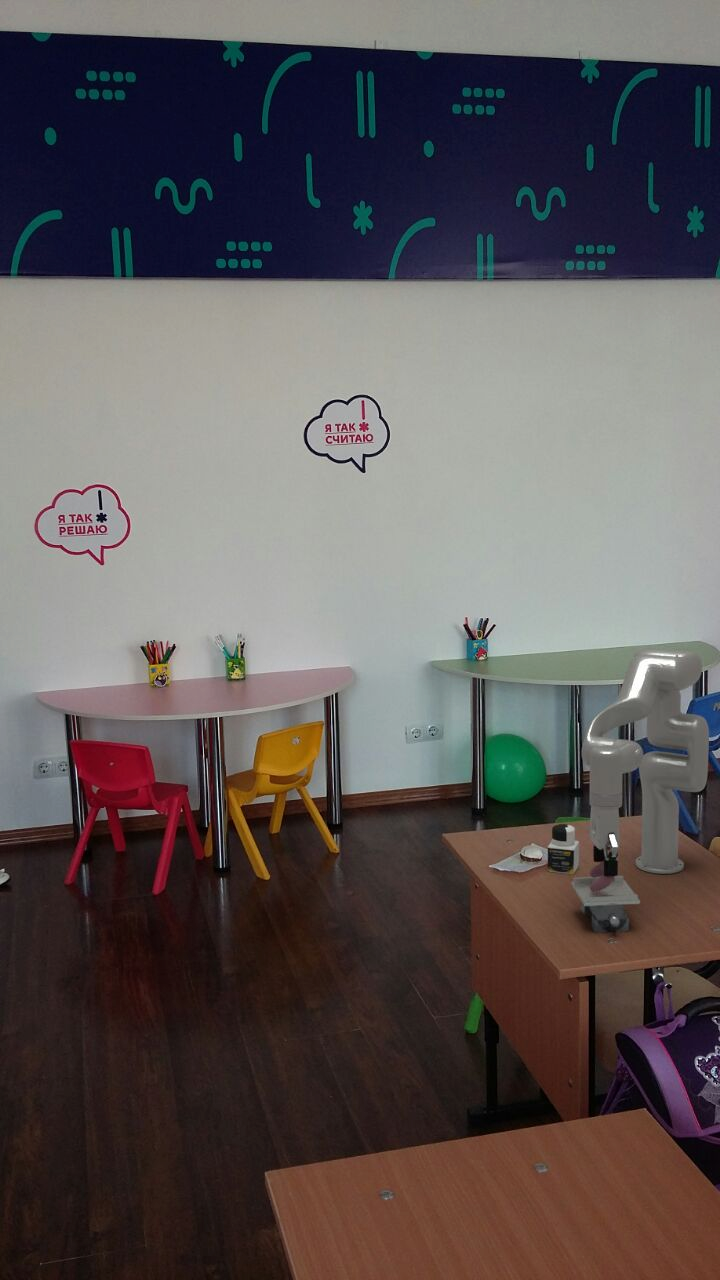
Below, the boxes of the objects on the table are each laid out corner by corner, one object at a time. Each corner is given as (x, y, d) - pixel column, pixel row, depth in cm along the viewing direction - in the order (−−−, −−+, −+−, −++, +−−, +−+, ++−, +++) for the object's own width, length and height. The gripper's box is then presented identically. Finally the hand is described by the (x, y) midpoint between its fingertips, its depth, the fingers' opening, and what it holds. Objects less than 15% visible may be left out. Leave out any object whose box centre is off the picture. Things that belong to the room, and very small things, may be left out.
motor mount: (571, 910, 271) (571, 877, 270) (623, 908, 272) (624, 875, 271) (587, 938, 256) (587, 902, 254) (643, 935, 256) (643, 900, 255)
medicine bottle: (547, 871, 298) (547, 828, 296) (553, 862, 304) (553, 820, 303) (573, 874, 295) (574, 831, 293) (579, 865, 302) (579, 823, 300)
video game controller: (605, 899, 260) (620, 875, 258) (588, 890, 260) (602, 865, 258) (604, 882, 269) (619, 859, 268) (587, 873, 270) (602, 850, 268)
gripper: (581, 788, 269) (580, 856, 272) (599, 810, 252) (599, 882, 255) (611, 787, 269) (611, 855, 272) (632, 809, 252) (631, 881, 255)
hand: (605, 868), depth 263 cm, fingers closed on video game controller, 8 cm apart
